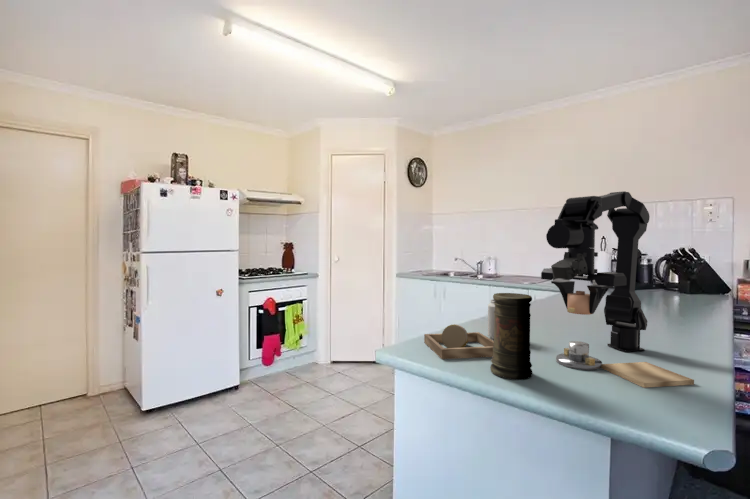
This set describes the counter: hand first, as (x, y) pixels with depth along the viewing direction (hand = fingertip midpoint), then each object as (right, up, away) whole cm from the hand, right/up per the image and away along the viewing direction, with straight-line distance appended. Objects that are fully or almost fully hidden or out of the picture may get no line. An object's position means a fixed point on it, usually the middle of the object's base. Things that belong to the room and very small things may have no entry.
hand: (580, 311), depth 94 cm
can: (-12, -13, +24) cm, 29 cm away
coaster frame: (-26, -13, +13) cm, 32 cm away
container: (-19, -13, -7) cm, 24 cm away
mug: (-27, -13, +15) cm, 34 cm away
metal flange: (0, -13, 0) cm, 13 cm away
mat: (+10, -13, -8) cm, 19 cm away
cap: (0, 0, 0) cm, 0 cm away
